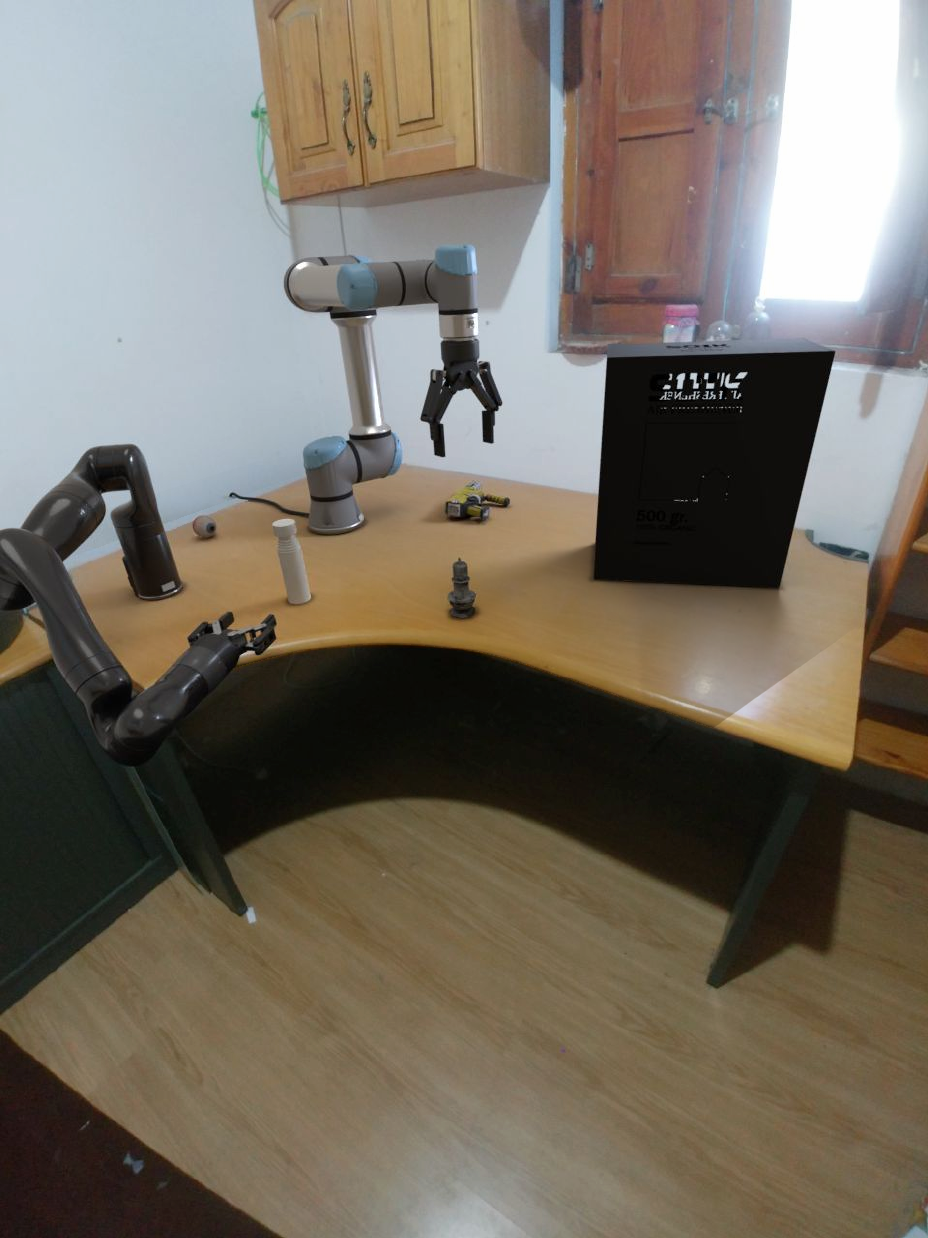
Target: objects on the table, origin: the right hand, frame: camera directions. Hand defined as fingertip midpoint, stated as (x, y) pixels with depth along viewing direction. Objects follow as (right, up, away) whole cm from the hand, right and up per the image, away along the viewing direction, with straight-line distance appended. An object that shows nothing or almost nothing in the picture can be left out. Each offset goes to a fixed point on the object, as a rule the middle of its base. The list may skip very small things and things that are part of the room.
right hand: (464, 449), depth 127 cm
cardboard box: (+49, -23, +10) cm, 55 cm away
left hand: (-40, -35, -14) cm, 55 cm away
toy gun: (+5, -3, +49) cm, 49 cm away
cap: (-37, -16, -4) cm, 41 cm away
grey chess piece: (0, -34, -4) cm, 35 cm away
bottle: (-36, -32, +4) cm, 48 cm away
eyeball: (-71, -13, +40) cm, 82 cm away
